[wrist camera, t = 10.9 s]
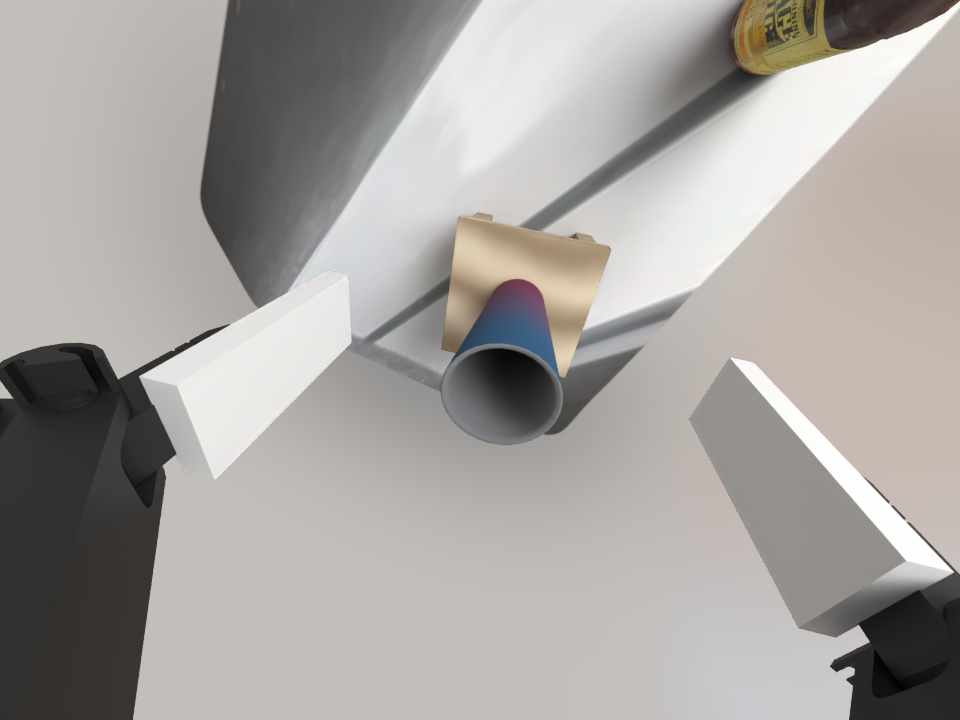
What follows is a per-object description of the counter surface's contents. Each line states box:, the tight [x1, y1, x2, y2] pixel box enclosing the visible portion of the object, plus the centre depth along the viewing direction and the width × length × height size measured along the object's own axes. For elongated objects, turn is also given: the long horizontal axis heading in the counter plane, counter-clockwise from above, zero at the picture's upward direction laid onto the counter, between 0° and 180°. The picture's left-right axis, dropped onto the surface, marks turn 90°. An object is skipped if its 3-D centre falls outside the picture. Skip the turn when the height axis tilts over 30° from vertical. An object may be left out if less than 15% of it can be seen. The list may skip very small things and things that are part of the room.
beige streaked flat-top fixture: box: [441, 213, 611, 378], centre depth 36 cm, size 13×13×8 cm
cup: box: [441, 279, 563, 445], centre depth 26 cm, size 7×7×15 cm
